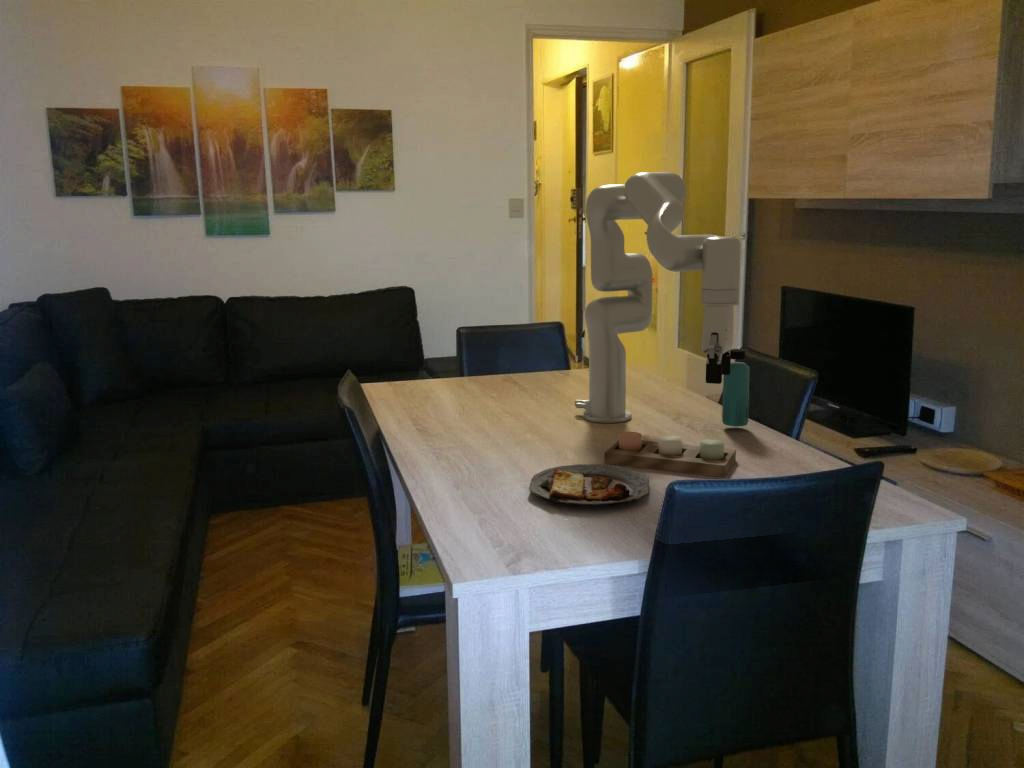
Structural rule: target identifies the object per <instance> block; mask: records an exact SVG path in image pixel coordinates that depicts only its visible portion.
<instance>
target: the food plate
mask: <svg viewBox="0 0 1024 768" xmlns="http://www.w3.org/2000/svg"><path fill="white" fill-rule="evenodd" d="M585 478H591V481H590V483H591V486H592V487H591V488H590V491H589V492H588V490H589V489H588V490H587V489H586V488H587V486H586V480H585ZM613 480H614V481H616V482H617V481H618V483H615V484H614V487H613V486H612V487H608V486H609V485H610V484H611V482H613ZM619 482H620V483H619ZM624 484H625V485H624ZM627 486H628V487H627ZM628 488H629V489H628ZM528 489H529V492H530V493H531V494H533V496H535V497H536V496H537V497H539V498H541V499H543V500H547V501H550V502H555V503H557V504H570V505H583V506H584V505H585V506H591V507H593V506H608V505H614V504H620V503H621V504H628V503H629V502H633V501H638V500H641V497H643V498H645V497H646V496H647V495H648V494H649V491H650V477H649V476H648V475H646V474H645V473H641V472H640V471H635V470H634V469H633V470H632V469H630V468H626V467H622V466H618V465H612V464H602V463H600V464H599V463H596V464H595V463H590V464H585V463H584V464H583V463H577V464H571V465H567V464H566V465H560V466H555V467H554V466H553V467H550V468H546V469H544V470H542V471H540V472H538V473H535V474H534V475H533V476H532V478H531V480H530V483H529V486H528ZM630 489H631V491H630ZM630 492H631V493H630Z"/></svg>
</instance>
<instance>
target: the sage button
mask: <svg viewBox="0 0 1024 768" xmlns="http://www.w3.org/2000/svg"><path fill="white" fill-rule="evenodd" d="M699 446H700V458H701V459H710V460H720V461H723V460H724V449H725V442H724V441H722V440H719V439H703V440H700V442H699Z"/></svg>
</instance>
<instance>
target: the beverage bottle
mask: <svg viewBox="0 0 1024 768" xmlns="http://www.w3.org/2000/svg"><path fill="white" fill-rule="evenodd" d="M730 356H731V360H745V359H746V350H745V349H741V348H730ZM750 368H751V367H750V366H749V365H748V364H747V363H745V362H742V361H741V362H740V361H731V365H730V374H729V375H722V383H723V384H722V390H721V391H722V397H721V398H722V399H721V402H722V408H721V421H722V424H723V425H725V426H729V427H745V426H747V425H748V424H749V421H750V420H749V417H750V413H749V411H750V406H749V405H750V371H751V370H750Z"/></svg>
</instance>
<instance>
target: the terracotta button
mask: <svg viewBox="0 0 1024 768" xmlns="http://www.w3.org/2000/svg"><path fill="white" fill-rule="evenodd" d="M618 440H619V450H626V451H635V452H640V451H641V450H642V440H643V435H642V433H639V432H638V431H636V432H635V431H623V432H620V433H619V434H618Z"/></svg>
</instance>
